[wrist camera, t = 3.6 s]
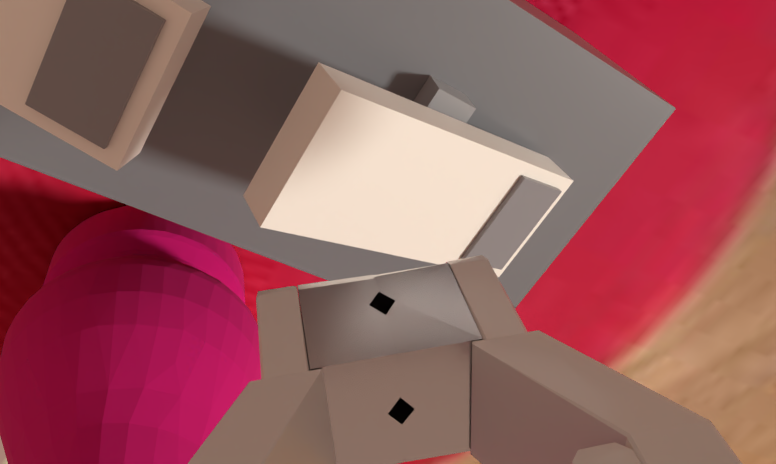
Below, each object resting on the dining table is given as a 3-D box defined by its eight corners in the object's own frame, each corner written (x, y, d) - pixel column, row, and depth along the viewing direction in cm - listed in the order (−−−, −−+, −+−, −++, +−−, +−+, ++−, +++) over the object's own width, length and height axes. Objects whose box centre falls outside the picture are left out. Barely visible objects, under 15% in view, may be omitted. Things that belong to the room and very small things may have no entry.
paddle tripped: (477, 251, 19) (501, 280, 18) (243, 195, 14) (262, 232, 13) (548, 157, 17) (577, 184, 17) (318, 62, 13) (344, 93, 12)
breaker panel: (436, 229, 26) (497, 359, 20) (-244, -72, 17) (-469, 8, 11) (575, 33, 23) (693, 121, 17) (-165, -453, 14) (-416, -596, 8)
